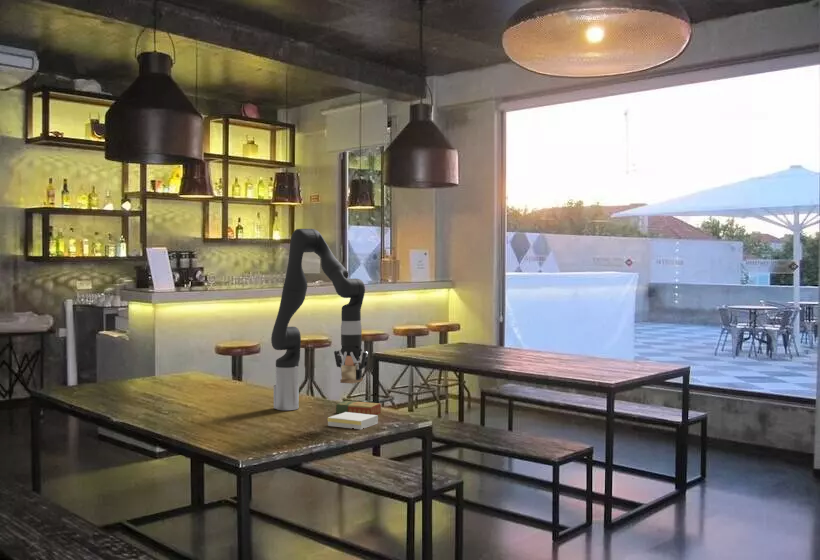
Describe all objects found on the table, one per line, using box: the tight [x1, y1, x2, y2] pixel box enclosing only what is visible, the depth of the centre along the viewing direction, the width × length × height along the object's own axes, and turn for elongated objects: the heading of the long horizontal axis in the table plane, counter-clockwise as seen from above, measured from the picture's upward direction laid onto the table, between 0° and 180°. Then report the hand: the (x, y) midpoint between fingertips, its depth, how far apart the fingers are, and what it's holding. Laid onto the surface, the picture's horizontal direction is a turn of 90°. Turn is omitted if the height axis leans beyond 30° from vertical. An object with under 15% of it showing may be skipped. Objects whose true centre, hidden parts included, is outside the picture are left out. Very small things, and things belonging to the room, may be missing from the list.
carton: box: [335, 400, 382, 415], centre depth 305 cm, size 8×16×4 cm, turn 65°
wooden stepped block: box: [340, 365, 364, 385], centre depth 283 cm, size 5×7×6 cm
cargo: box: [345, 356, 355, 366], centre depth 283 cm, size 4×4×4 cm
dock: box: [327, 412, 379, 430], centre depth 283 cm, size 14×12×3 cm
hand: (351, 379), depth 283 cm, fingers closed on wooden stepped block, 5 cm apart
